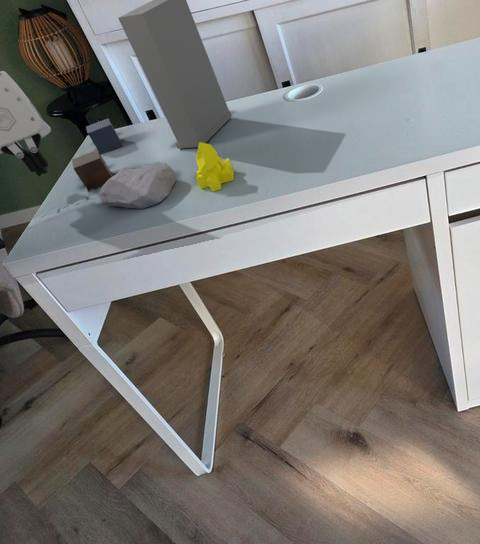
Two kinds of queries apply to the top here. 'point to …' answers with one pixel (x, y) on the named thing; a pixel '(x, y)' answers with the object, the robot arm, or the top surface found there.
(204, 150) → the crumpled paper
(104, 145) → the slate block
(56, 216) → the top surface
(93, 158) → the walnut block
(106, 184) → the grey rock
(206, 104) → the tall grey pillar
